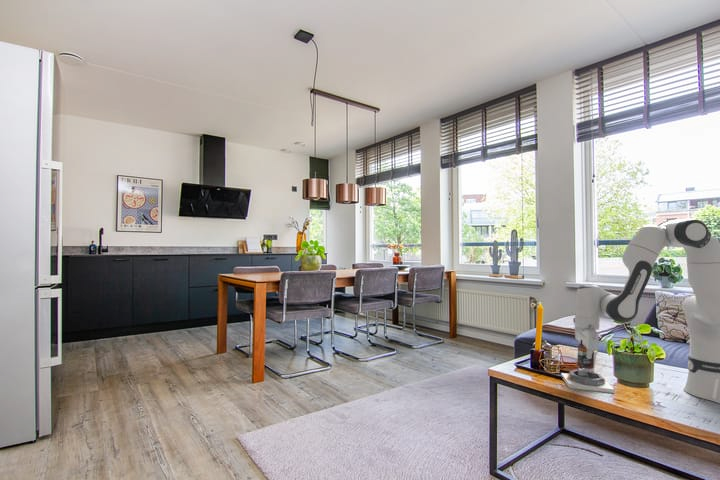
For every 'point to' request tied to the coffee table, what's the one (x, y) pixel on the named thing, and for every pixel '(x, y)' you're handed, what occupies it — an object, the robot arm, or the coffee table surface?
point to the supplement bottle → (584, 358)
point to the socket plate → (572, 384)
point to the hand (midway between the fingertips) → (585, 355)
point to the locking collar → (579, 374)
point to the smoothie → (594, 362)
